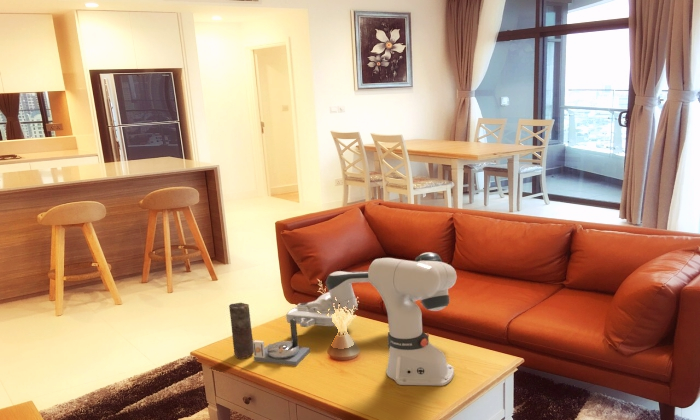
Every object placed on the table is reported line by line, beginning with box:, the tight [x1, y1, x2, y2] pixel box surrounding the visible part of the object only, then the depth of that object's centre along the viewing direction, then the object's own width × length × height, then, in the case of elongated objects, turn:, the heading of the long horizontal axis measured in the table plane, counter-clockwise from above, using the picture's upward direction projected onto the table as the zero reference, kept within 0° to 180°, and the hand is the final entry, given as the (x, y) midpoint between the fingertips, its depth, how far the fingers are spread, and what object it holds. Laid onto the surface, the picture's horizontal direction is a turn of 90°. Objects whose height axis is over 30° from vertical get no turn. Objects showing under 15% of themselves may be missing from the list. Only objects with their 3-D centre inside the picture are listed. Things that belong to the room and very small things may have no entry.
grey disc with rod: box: [267, 319, 300, 359], centre depth 210 cm, size 12×12×12 cm
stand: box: [253, 340, 311, 367], centre depth 210 cm, size 17×13×8 cm
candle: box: [228, 302, 254, 360], centre depth 213 cm, size 8×7×20 cm
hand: (303, 325), depth 217 cm, fingers closed
